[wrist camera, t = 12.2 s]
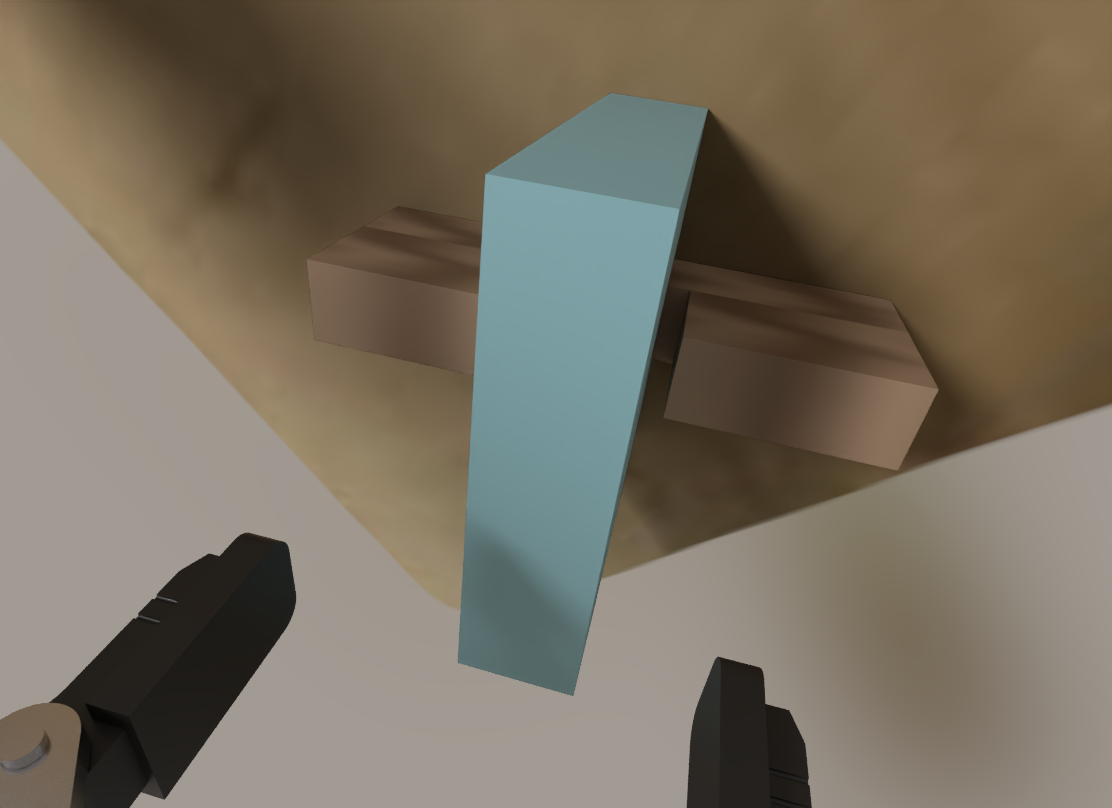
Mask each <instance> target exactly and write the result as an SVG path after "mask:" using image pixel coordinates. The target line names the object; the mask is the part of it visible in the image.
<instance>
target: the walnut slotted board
mask: <svg viewBox="0 0 1112 808" xmlns="http://www.w3.org/2000/svg"><path fill="white" fill-rule="evenodd" d="M482 226H483V223H482V222H477V221H472V220H466V219H461V218H456V217H451V216H445V215H440V214H435V213H430V212H424V211H419V210H414V209H409V208H403V207H396V208H394V209H393V210H391V211H389V212H387V213H386V214H384V215H382V216H381V217H379V218H377V219H375V220H374V221H372V222H370V223H368V224H367V225H365V226H363V227H361V228H360V229H358V230H356V231H354V232H353V233H351V234H349V235H347V236H346V237H344V238H342V239H341V240H339V241H337V242H335V243H334V244H332V245H330V246H328V247H327V248H325V249H323V250H321V251H320V252H318V253H316V254H314V255H313V256H311V257H309V258H308V259H307V270H308V281H309V291H310V302H311V312H312V323H313V334H314V340H317V341H322V342H326V343H331V344H335V345H339V346H344V347H348V348H353V349H357V350H362V351H366V352H371V353H375V354H380V355H384V356H389V357H393V358H397V359H402V360H406V361H411V362H415V363H420V364H424V365H429V366H433V367H438V368H442V369H447V370H451V371H455V372H460V373H464V374H469V375H473V376H474V367H475V349H476V332H477V314H478V296H479V279H480V261H481V243H482ZM651 359H654V360H659V361H664V362H668V363H673V366H672V372H671V377H670V383H669V388H668V394H667V400H666V405H665V411H664V417H663V418H665V419H670V420H674V421H678V422H683V423H687V424H692V425H696V426H701V427H705V428H710V429H714V430H719V431H723V432H728V433H732V434H736V435H741V436H745V437H750V438H754V439H759V440H763V441H768V442H772V443H777V444H781V445H786V446H790V447H794V448H799V449H803V450H808V451H812V452H817V453H821V454H826V455H830V456H835V457H839V458H844V459H848V460H852V461H857V462H861V463H866V464H870V465H875V466H879V467H884V468H888V469H893V470H897V471H898V469H899V467H900V465H901V463H902V461H903V459H904V457H905V455H906V454H907V452H908V450H909V448H910V446H911V444H912V442H913V440H914V438H915V436H916V434H917V432H918V430H919V428H920V426H921V424H922V422H923V420H924V418H925V416H926V414H927V412H928V410H929V408H930V406H931V404H932V402H933V400H934V398H935V396H936V394H937V392H938V390H939V389H938V387H937V385H936V383H935V382H934V380H933V378H932V376H931V374H930V372H929V370H928V369H927V367H926V365H925V363H924V361H923V359H922V357H921V356H920V354H919V352H918V350H917V348H916V346H915V344H914V343H913V341H912V339H911V337H910V335H909V333H908V331H907V330H906V328H905V326H904V324H903V322H902V320H901V318H900V317H899V315H898V313H897V311H896V309H895V307H894V305H893V304H892V302H891V300H886V299H881V298H876V297H871V296H865V295H860V294H855V293H850V292H844V291H839V290H834V289H829V288H823V287H818V286H813V285H808V284H802V283H797V282H792V281H787V280H781V279H776V278H771V277H766V276H760V275H755V274H750V273H745V272H739V271H734V270H729V269H724V268H718V267H713V266H708V265H703V264H697V263H692V262H687V261H682V260H676V259H674V261H673V265H672V269H671V273H670V277H669V282H668V286H667V291H666V295H665V300H664V304H663V309H662V313H661V318H660V322H659V327H658V331H657V336H656V340H655V345H654V349H653V354H652V358H651Z"/></svg>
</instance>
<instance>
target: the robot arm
mask: <svg viewBox="0 0 1112 808" xmlns="http://www.w3.org/2000/svg"><path fill="white" fill-rule="evenodd" d="M295 604H296V591H295V585H294V578H293V572H292V566H291V559H290V553H289V548H288V545H287V544H286V543H285V542H282V541H278V540H275V539H271V538H267V537H263V536H259V535H255V534H251V533H244V534H241V535H240V536H239V537H237V538H236V539H235V540H234V541H233V542H232V543H231V544H230V545H229V547H228V548H227V549H226V550H225V551H224V552H223V553H222V554H221V555H220V556H216V555H213V554H207V555H206V556H204V557H202V558H201V559H199V560H197V561H196V562H194V563H192V564H190V565H189V566H187V567H186V568H184V569H182V570H181V571H179V572H178V573H177V574H176V575H175V576H174V577H173V578H172V579H171V580H170V581H169V582H168V583H167V584H166V585H165V586H164V587H163V588H162V590H160V592H159V593H158V594H157V597H156V598H155V599H152V600H151V601H150V602H149V603H148V604H147V605H146V606H145V607H144V608H143V609H142V610H141V611H140V612H139V613H138V617H137V618H136V619H134V618H133V619H132V621H131V622H129V624H128V625H127V626H126V627H125V628H124V629H123V630H122V631H121V632H120V633H119V634H118V635H117V636H116V637H115V638H114V639H113V640H112V641H111V642H110V643H109V644H108V645H107V646H106V647H105V648H104V649H103V651H101V652H100V654H98V656H97V657H96V658H95V659H94V660H93V661H92V662H91V663H90V664H89V665H88V666H87V667H86V668H85V669H84V670H83V671H82V672H81V673H80V674H79V675H78V676H77V677H76V678H75V679H74V680H73V681H72V682H71V683H70V684H69V686H68V687H67V688H66V689H64V690H63V691H62V692H61V693H60V694H59V695H58V696H57V697H56V698H54V699H53V700H52V701H51V702H49V703H42V704H37V705H32V706H29V707H26V708H23V709H20V710H18V711H16V712H13V713H11V714H10V715H8V716H6V717H4V718H2V719H1V720H0V808H129V807H130V806H131V805H132V804H133V802H134V801H135V799H136V798H137V797H138V795H139V794H140V793H141V792H143V793H146V794H149V795H152V796H155V797H158V798H161V799H165V798H166V797H167V796H168V794H169V793H170V791H171V790H172V789H173V787H174V786H175V784H176V783H177V782H178V780H179V779H180V777H181V776H182V775H183V773H184V772H185V770H186V769H187V767H188V766H189V765H190V763H191V762H192V760H193V759H194V758H195V756H196V755H197V753H198V752H199V751H200V749H201V748H202V746H203V745H204V744H205V742H206V740H207V739H208V738H209V736H210V735H211V734H212V732H213V731H214V729H215V728H216V727H217V725H218V724H219V722H220V721H221V720H222V718H223V717H224V715H225V714H226V712H227V711H228V710H229V708H230V707H231V705H232V704H233V703H234V701H235V700H236V698H237V697H238V696H239V694H240V693H241V691H242V690H243V688H244V687H245V686H246V684H247V683H248V681H249V680H250V678H251V677H252V676H253V674H254V673H255V671H256V670H257V669H258V667H259V666H260V665H261V663H262V662H263V660H264V659H265V657H266V656H267V655H268V653H269V652H270V650H271V649H272V648H273V646H274V645H275V643H276V642H277V640H278V639H279V638H280V636H281V635H282V633H283V632H284V631H285V629H286V628H287V626H288V624H289V622H290V620H291V618H292V615H293V612H294V609H295ZM808 779H809V776H808V767H807V757H806V748H805V743H804V740H803V738H802V736H801V734H800V732H799V730H798V728H797V726H796V724H795V722H794V719H793V717H792V715H791V713H790V711H789V710H786V709H782V708H778V707H774V706H771V705H767V704H765V688H764V675H763V671H762V669H761V668H759V667H756V666H752V665H748V664H744V663H740V662H736V661H733V660H729V659H725V658H721V657H717V658H716V659H715V661H714V664H713V666H712V669H711V671H710V674H709V676H708V679H707V682H706V684H705V687H704V689H703V692H702V695H701V697H700V699H699V702H698V705H697V708H696V711H695V715H694V720H693V725H692V731H691V740H690V758H689V775H688V794H687V808H812V806H811V796H810V787H809V785H808Z"/></svg>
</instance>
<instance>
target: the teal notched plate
mask: <svg viewBox="0 0 1112 808" xmlns="http://www.w3.org/2000/svg"><path fill="white" fill-rule="evenodd" d="M707 111H708V108H702V107H696V106H690V105H683V104H677V103H671V102H664V101H658V100H652V99H646V98H639V97H633V96H627V95H621V94H614V93H610V94H608V95H607V96H605V97H603V98H602V99H600V100H599V101H597V102H596V103H594V104H593V105H591V106H590V107H588V108H586V109H585V110H583V111H582V112H580V113H579V114H577V115H576V116H574V117H573V118H571V119H569V120H568V121H566V122H565V123H563V124H562V125H560V126H559V127H557V128H556V129H554V130H552V131H551V132H549V133H548V134H546V135H545V136H543V137H542V138H540V139H539V140H537V141H535V142H534V143H532V144H531V145H529V146H528V147H526V148H525V149H523V150H522V151H520V152H518V153H517V154H515V155H514V156H512V157H511V158H509V159H508V160H506V161H505V162H503V163H501V164H500V165H498V166H497V167H495V168H494V169H492V170H491V171H489V172H488V173H486V174H485V190H484V208H483V226H482V243H481V261H480V279H479V296H478V314H477V332H476V349H475V367H474V384H473V402H472V420H471V437H470V455H469V473H468V490H467V508H466V525H465V543H464V561H463V578H462V596H461V615H460V632H459V651H458V663H461V664H464V665H468V666H471V667H474V668H478V669H481V670H485V671H488V672H492V673H495V674H499V675H502V676H506V677H509V678H512V679H516V680H519V681H523V682H526V683H530V684H533V685H537V686H540V687H544V688H547V689H551V690H554V691H558V692H561V693H564V694H568V695H572V696H573V695H574V691H575V687H576V682H577V678H578V674H579V670H580V666H581V661H582V657H583V653H584V648H585V644H586V640H587V636H588V632H589V627H590V623H591V619H592V615H593V611H594V606H595V602H596V598H597V593H598V589H599V585H600V581H601V577H602V573H603V568H604V564H605V560H606V556H607V552H608V547H609V543H610V539H611V535H612V530H613V526H614V522H615V518H616V514H617V509H618V505H619V501H620V497H621V493H622V488H623V484H624V480H625V476H626V471H627V467H628V463H629V459H630V455H631V450H632V446H633V442H634V438H635V433H636V429H637V425H638V420H639V416H640V411H641V407H642V402H643V398H644V393H645V389H646V384H647V380H648V375H649V371H650V366H651V362H652V359H651V358H652V354H653V349H654V345H655V340H656V336H657V331H658V327H659V322H660V318H661V313H662V309H663V304H664V300H665V295H666V291H667V286H668V282H669V277H670V273H671V269H672V265H673V261H674V257H675V253H676V249H677V245H678V241H679V237H680V232H681V228H682V223H683V219H684V214H685V210H686V205H687V201H688V196H689V192H690V187H691V183H692V178H693V174H694V169H695V165H696V160H697V156H698V152H699V147H700V143H701V138H702V134H703V129H704V125H705V120H706V116H707Z"/></svg>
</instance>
